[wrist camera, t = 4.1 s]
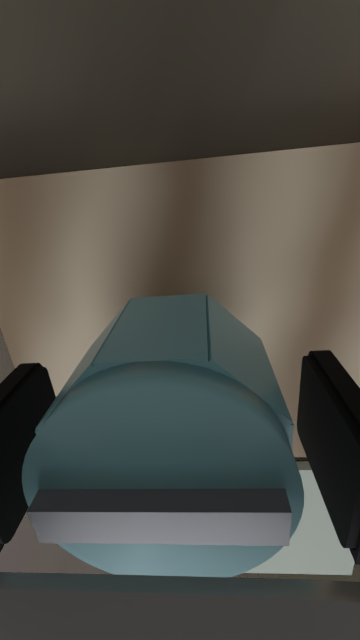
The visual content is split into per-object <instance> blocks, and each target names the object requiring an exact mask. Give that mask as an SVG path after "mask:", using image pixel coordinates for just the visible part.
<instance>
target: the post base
mask: <svg viewBox="0 0 360 640" xmlns="http://www.w3.org/2000/svg"><path fill="white" fill-rule="evenodd" d="M203 293H205V295H207V294H208V295H209V296H211V297H212V298H213V299H214V300H215V301H217V302H218V303H219V304H220V305H221V306H222V307H224V308H225V309H226V310H227V311H228V312H230V313H231V314H232V315H233V316H234V317H236V318H237V319H238V320H239V321H240V322H242V323H243V324H244V325H245V326H246V327H248V328H249V329H250V330H251V331H252V332H253V333H255V334H256V335H257V336H258V337H259V338H261V340H262V343H263V345H264V348H265V351H266V353H267V356H268V358H269V361H270V364H271V366H272V369H273V371H274V374H275V377H276V379H277V382H278V384H279V387H280V390H281V392H282V395H283V397H284V400H285V403H286V405H287V408H288V410H289V413H290V416H291V418H292V421H293V423H294V434H293V446H292V452H293V455H294V457H307V456H306V454H305V451H304V449H303V446H302V443H301V441H300V438H299V435H298V432H297V414H298V402H299V390H300V378H301V366H302V358H303V356H308V354H309V352H310V351H319V350H330V351H331V352H332V353H333V354H334V355H335V357H336V358H337V359H338V361H339V362H340V363H341V364H342V366H343V367H344V368H345V370H346V371H347V372H348V374H349V375H350V376H351V377H352V379H353V380H354V381H355V383H356V384H357V385H358V386H359V388H360V142H358V143H348V144H339V145H329V146H319V147H309V148H299V149H290V150H280V151H270V152H260V153H250V154H241V155H231V156H221V157H211V158H201V159H192V160H182V161H172V162H162V163H153V164H143V165H133V166H123V167H113V168H104V169H94V170H84V171H74V172H64V173H55V174H45V175H35V176H25V177H15V178H6V179H0V328H1V331H2V334H3V337H4V339H5V342H6V345H7V348H8V351H9V353H10V356H11V359H12V362H13V365H14V368H16V367H17V366H18V365H20V364H22V363H40V364H41V365H42V366H43V367H46V368H47V370H48V373H49V376H50V380H51V383H52V386H53V389H54V393H55V396H56V397H57V396H58V394H59V393H60V391H61V390H62V388H63V387H64V385H65V384H66V382H67V381H68V379H69V378H70V376H71V375H72V373H73V372H74V370H75V369H76V367H77V366H78V364H79V363H80V361H81V360H82V358H83V357H84V355H85V354H86V353H87V351H88V350H89V348H90V347H91V345H92V344H93V343H94V342H95V341H96V339H97V338H98V337H99V336H100V335H101V333H102V332H103V331H104V330H105V328H106V327H107V326H108V325H109V324H110V322H111V321H112V320H113V319H114V318H115V316H116V315H117V314H118V313H119V312H120V310H121V309H122V308H123V307H124V306H125V304H126V303H127V302H128V301H129V299H132V298H138V297H154V296H171V295H187V294H203Z"/></svg>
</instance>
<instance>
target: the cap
mask: <svg viewBox="0 0 360 640" xmlns="http://www.w3.org/2000/svg"><path fill="white" fill-rule="evenodd" d="M35 429H36V430H35V433H36V436H35V438H34V439H33V441H32V442H31V444H30V446H29V448H28V451H27V453H26V455H25V459H24V463H23V467H22V486H23V492H24V496H25V499H26V502H27V505H28V507H29V508H28V510H27V514H28V516H29V519H30V521H31V523H32V526H33V528H34V530H35V533H36V535H37V537H38V540H39V542H40V543H57V544H59V545H60V546H61V547H62V548H64V549H65V550H66V551H68V552H69V553H71V554H72V555H74V556H75V557H77V558H79V559H81V560H82V561H84V562H86V563H88V564H90V565H92V566H94V567H96V568H99V569H101V570H104V571H106V572H109V573H112V574H115V575H153V576H193V577H233V576H236V575H239V574H241V573H244V572H247V571H249V570H251V569H253V568H255V567H257V566H259V565H261V564H262V563H264V562H265V561H267V560H268V559H270V558H271V557H273V556H274V555H275V554H276V553H277V552H279V551H280V550H281V549H282V548H283V547H284V546H289V541H290V538H291V537H292V535H293V534H294V532H295V531H296V529H297V527H298V524H299V522H300V520H301V517H302V512H303V508H304V489H303V484H302V478H301V476H300V473H299V470H298V467H297V464H296V461H295V458H294V455H293V452H292V446H293V434H294V423H293V421H292V418H291V416H290V413H289V410H288V408H287V405H286V403H285V400H284V397H283V395H282V392H281V390H280V387H279V384H278V382H277V379H276V377H275V374H274V371H273V369H272V366H271V364H270V361H269V358H268V356H267V353H266V351H265V348H264V345H263V343H262V340H261V338H259V337H258V336H257V335H256V334H255V333H253V332H252V331H251V330H250V329H249V328H248V327H246V326H245V325H244V324H243V323H242V322H240V321H239V320H238V319H237V318H236V317H234V316H233V315H232V314H231V313H230V312H228V311H227V310H226V309H225V308H224V307H222V306H221V305H220V304H219V303H218V302H217V301H215V300H214V299H213V298H212V297H211V296H209V295H208V294H207V295H205V293H203V294H187V295H171V296H154V297H138V298H132V299H129V301H128V302H127V303H126V304H125V306H124V307H123V308H122V309H121V310H120V312H119V313H118V314H117V315H116V316H115V318H114V319H113V320H112V321H111V322H110V324H109V325H108V326H107V327H106V328H105V330H104V331H103V332H102V333H101V335H100V336H99V337H98V338H97V339H96V341H95V342H94V343H93V344H92V345H91V347H90V348H89V350H88V351H87V353H86V354H85V355H84V357H83V358H82V360H81V361H80V363H79V364H78V366H77V367H76V369H75V370H74V372H73V373H72V375H71V376H70V378H69V379H68V381H67V382H66V384H65V385H64V387H63V388H62V390H61V391H60V393H59V394H58V396H57V397H56V398H55V400H54V401H53V403H52V404H51V406H50V407H49V409H48V410H47V412H46V413H45V415H44V416H43V418H42V419H41V421H40V422H39V424H38V425H37V427H36V428H35Z"/></svg>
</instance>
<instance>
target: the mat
mask: <svg viewBox="0 0 360 640" xmlns="http://www.w3.org/2000/svg"><path fill="white" fill-rule="evenodd" d="M296 464H297V467H298V470H299V473H300V476H301V478H302V484H303V489H304V508H303V512H302V517H301V520H300V522H299V524H298V527H297V529H296V531H295V532H294V534H293V535H292V537H291V538H290V541H289V546H284V547H283V548H282V549H281V550H280V551H279V552H277V553H276V554H275V555H274V556H273V557H271V558H270V559H268V560H267V561H265V562H264V563H262V564H261V565H259V566H257V567H255V568H253V569H251V570H249V571H247V572H244V573H279V574H326V575H352V571H353V567H354V563H355V562H354V559H353V557H352V554H351V552H350V549H349V548H343V547H342V545H341V544H340V542H339V539H338V537H337V534H336V532H335V529H334V526H333V524H332V521H331V519H330V516H329V513H328V511H327V508H326V506H325V503H324V500H323V498H322V495H321V493H320V490H319V487H318V485H317V482H316V480H315V477H314V474H313V472H312V469H311V467H310V464H309V462H308V461H296Z"/></svg>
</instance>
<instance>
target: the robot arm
mask: <svg viewBox="0 0 360 640" xmlns="http://www.w3.org/2000/svg"><path fill="white" fill-rule="evenodd" d="M55 398H56V396H55V393H54V389H53V386H52V383H51V380H50V376H49V373H48V370H47V368H46V367H43V366H42V365H41V364H40V363H22V364H20V365H18V366H17V367H16V368H15V369H14V370H13V371H12V372H11V373H10V374H9V375H8V376H7V377H6V378H5V379H4V380H3V381H2V382H1V383H0V552H1V550H2V548H3V546H4V544H6V543H8V542H9V541H10V540H11V539H12V537H13V536H14V534H15V532H16V530H17V528H18V526H19V524H20V522H21V520H22V519H23V517H24V515H25V513H26V511H27V509H28V505H27V502H26V499H25V496H24V492H23V486H22V467H23V463H24V459H25V455H26V453H27V451H28V448H29V446H30V444H31V442H32V441H33V439H34V438H35V436H36V433H35V430H36V429H35V428H36V427H37V425H38V424H39V422H40V421H41V419H42V418H43V416H44V415H45V413H46V412H47V410H48V409H49V407H50V406H51V404H52V403H53V401H54V400H55ZM297 432H298V435H299V438H300V441H301V443H302V446H303V449H304V451H305V454H306V456H307V459H308V462H309V464H310V467H311V469H312V472H313V474H314V477H315V480H316V482H317V485H318V487H319V490H320V493H321V495H322V498H323V500H324V503H325V506H326V508H327V511H328V513H329V516H330V519H331V521H332V524H333V526H334V529H335V532H336V534H337V537H338V539H339V542H340V544H341V545H342V547H343V548H349V549H350V552H351V554H352V557H353V559H354V562H355V564H360V388H359V386H358V385H357V384H356V383H355V381H354V380H353V379H352V377H351V376H350V375H349V374H348V372H347V371H346V370H345V368H344V367H343V366H342V364H341V363H340V362H339V361H338V359H337V358H336V357H335V355H334V354H333V353H332V352H331V351H330V350H319V351H310V352H309V354H308V356H303V358H302V366H301V378H300V390H299V402H298V414H297ZM0 640H360V582H344V581H323V580H299V579H264V578H229V577H193V576H153V575H110V574H64V573H10V572H0Z"/></svg>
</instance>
